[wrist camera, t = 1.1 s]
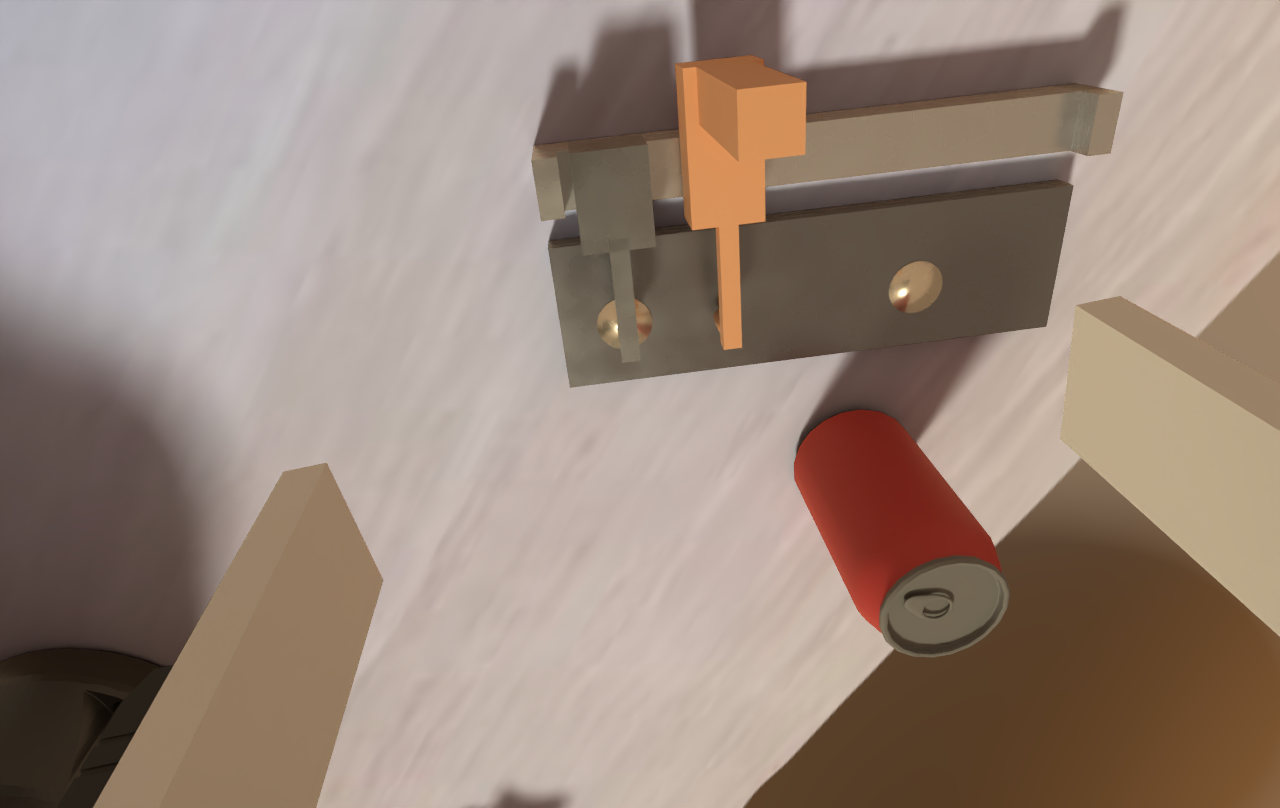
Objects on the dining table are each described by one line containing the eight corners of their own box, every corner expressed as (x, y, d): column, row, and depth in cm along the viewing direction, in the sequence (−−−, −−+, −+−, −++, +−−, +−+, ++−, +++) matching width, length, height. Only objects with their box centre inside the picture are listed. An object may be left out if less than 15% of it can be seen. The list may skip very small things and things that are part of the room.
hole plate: (569, 376, 37) (570, 388, 36) (548, 240, 34) (548, 249, 33) (1032, 317, 38) (1046, 327, 37) (1058, 179, 35) (1073, 186, 34)
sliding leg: (690, 330, 35) (732, 436, 27) (673, 62, 29) (719, 91, 21) (753, 322, 35) (814, 425, 27) (748, 54, 29) (823, 80, 21)
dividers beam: (562, 330, 36) (563, 370, 32) (532, 138, 32) (529, 158, 28) (1041, 271, 37) (1095, 302, 33) (1077, 76, 33) (1144, 87, 29)
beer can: (821, 391, 39) (917, 536, 29) (927, 420, 41) (1054, 567, 31) (771, 489, 42) (842, 654, 32) (872, 513, 44) (971, 677, 33)
